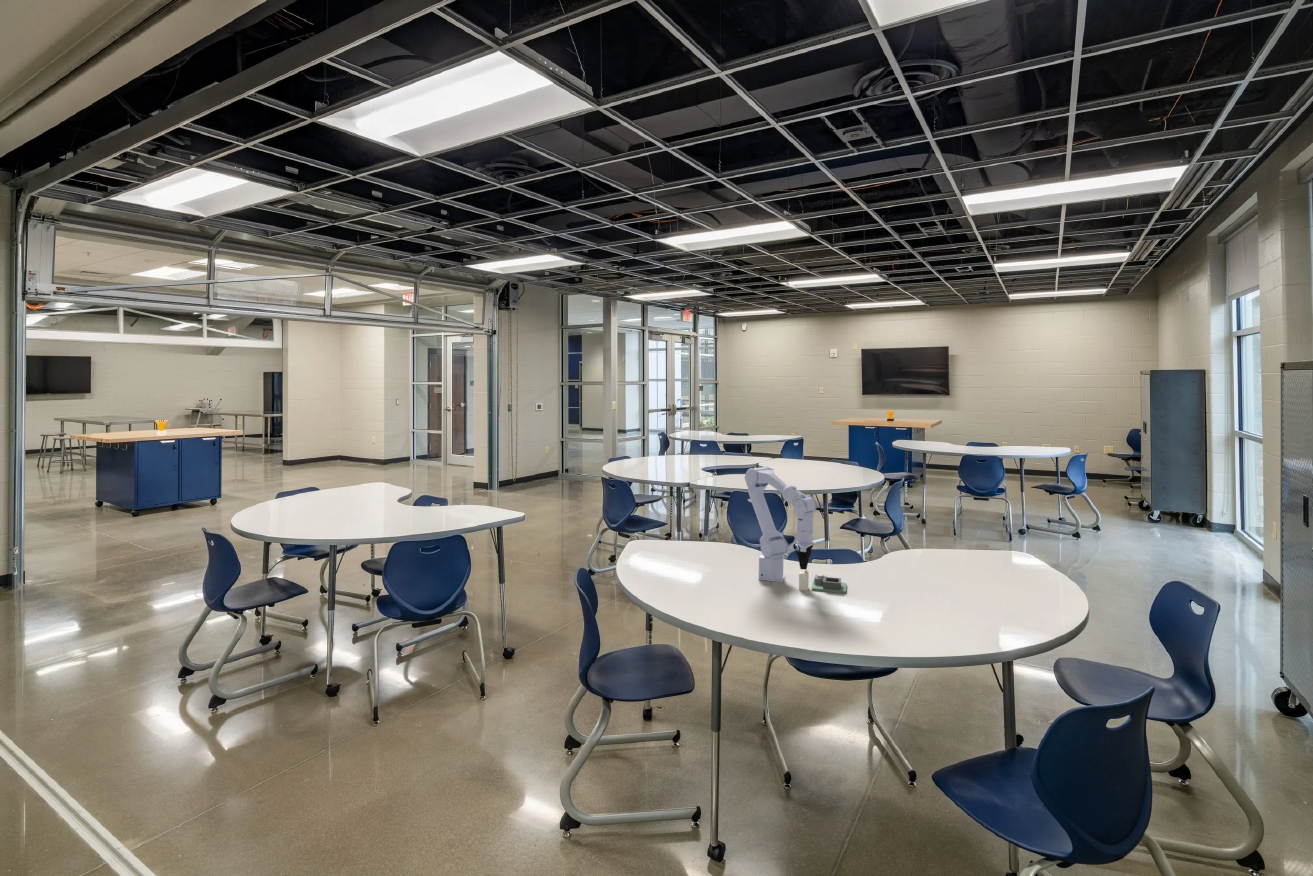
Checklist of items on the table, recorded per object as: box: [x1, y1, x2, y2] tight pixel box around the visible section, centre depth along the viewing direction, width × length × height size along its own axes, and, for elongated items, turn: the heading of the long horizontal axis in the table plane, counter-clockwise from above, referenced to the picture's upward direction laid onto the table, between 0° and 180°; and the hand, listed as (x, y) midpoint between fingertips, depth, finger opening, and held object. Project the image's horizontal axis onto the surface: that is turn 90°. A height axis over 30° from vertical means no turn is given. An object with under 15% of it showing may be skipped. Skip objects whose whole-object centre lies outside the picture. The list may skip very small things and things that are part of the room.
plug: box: [798, 569, 810, 591], centre depth 228 cm, size 3×3×7 cm
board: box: [811, 574, 847, 595], centre depth 229 cm, size 12×10×4 cm
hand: (804, 566), depth 227 cm, fingers open, 7 cm apart
